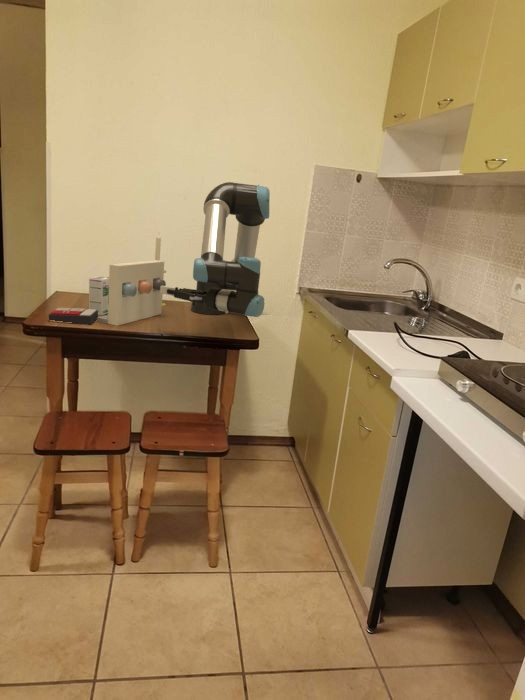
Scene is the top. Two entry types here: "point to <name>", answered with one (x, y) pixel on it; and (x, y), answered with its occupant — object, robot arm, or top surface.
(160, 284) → the charcoal button
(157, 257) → the candle
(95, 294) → the syrup box
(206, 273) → the robot arm
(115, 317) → the control panel
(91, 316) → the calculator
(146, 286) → the terracotta button
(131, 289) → the slate blue button
